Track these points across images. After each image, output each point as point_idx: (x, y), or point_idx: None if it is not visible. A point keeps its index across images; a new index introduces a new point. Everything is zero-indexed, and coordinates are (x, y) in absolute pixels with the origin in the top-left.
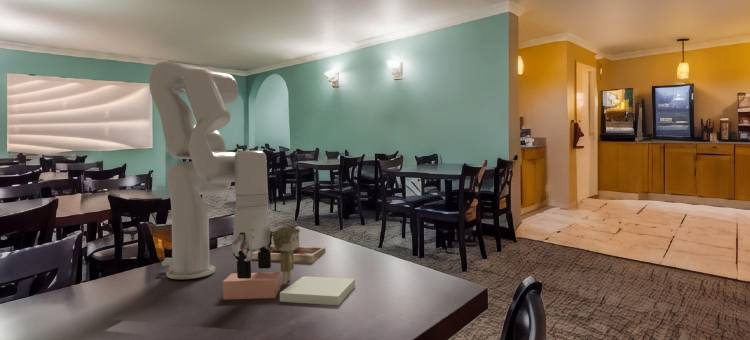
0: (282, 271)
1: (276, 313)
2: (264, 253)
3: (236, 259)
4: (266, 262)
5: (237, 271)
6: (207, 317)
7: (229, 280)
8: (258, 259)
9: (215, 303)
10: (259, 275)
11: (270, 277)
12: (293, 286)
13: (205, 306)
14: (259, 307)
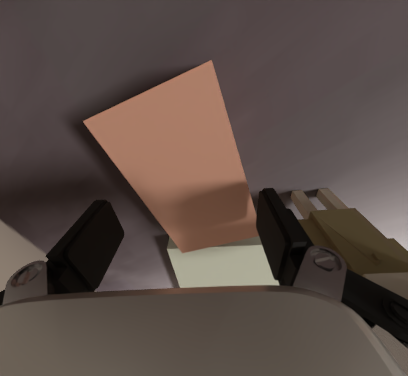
0: (309, 215)
1: (120, 249)
2: (278, 268)
3: (18, 278)
4: (262, 235)
5: (81, 217)
6: (11, 159)
7: (110, 140)
8: (272, 215)
9: (79, 107)
10: (212, 203)
11: (201, 236)
12: (214, 253)
13: (41, 94)
14: (126, 218)
